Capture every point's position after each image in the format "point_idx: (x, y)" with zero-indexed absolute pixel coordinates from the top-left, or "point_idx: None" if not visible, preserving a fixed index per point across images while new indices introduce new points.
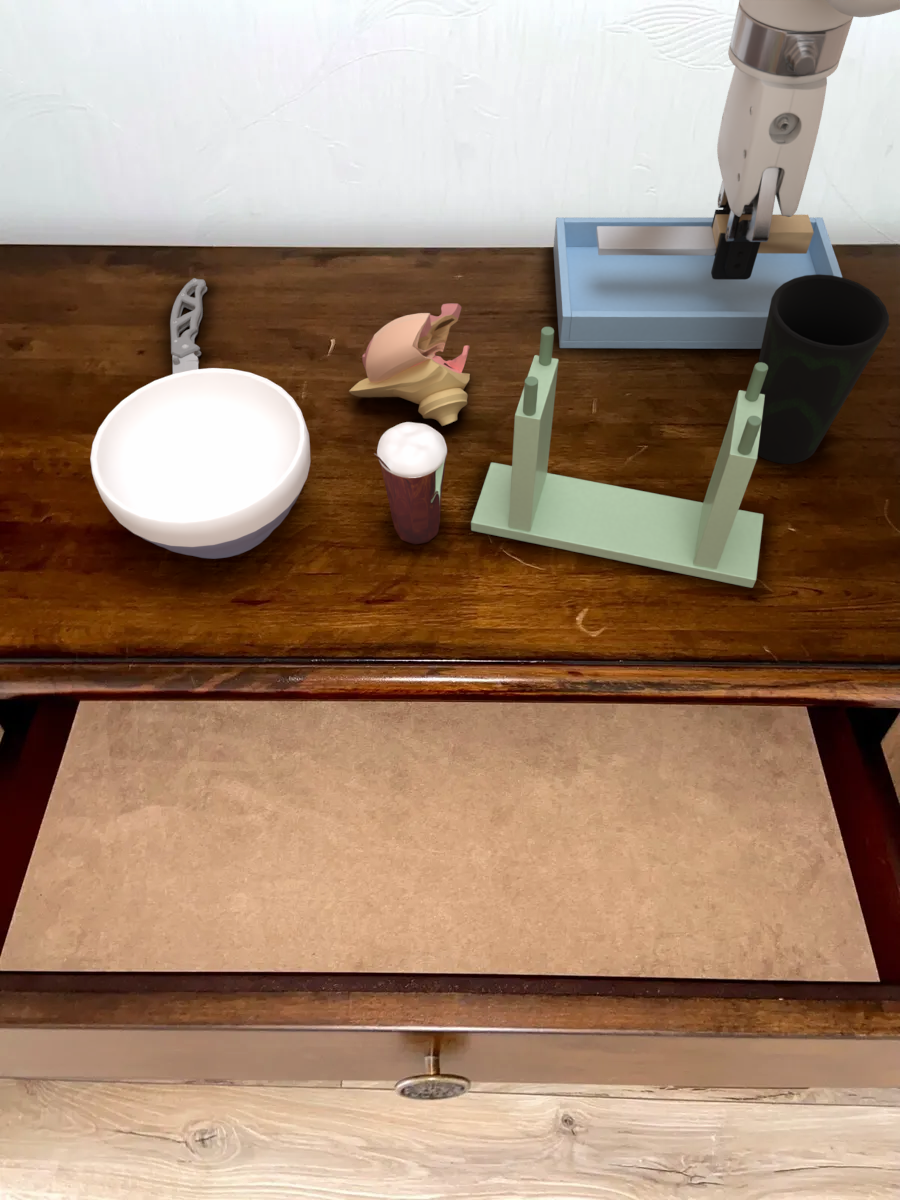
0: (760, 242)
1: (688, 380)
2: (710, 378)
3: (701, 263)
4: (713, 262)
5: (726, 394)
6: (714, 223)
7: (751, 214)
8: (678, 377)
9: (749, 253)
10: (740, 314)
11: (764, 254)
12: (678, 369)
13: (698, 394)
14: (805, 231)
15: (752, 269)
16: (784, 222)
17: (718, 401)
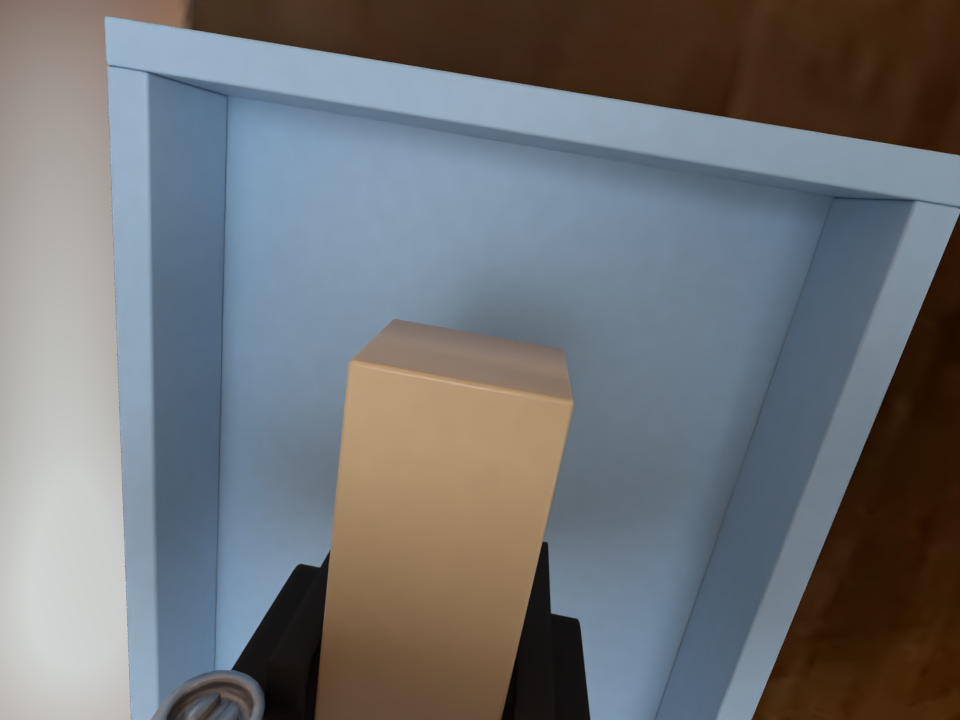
0: (551, 686)
1: (820, 696)
2: (835, 642)
3: (312, 533)
4: (308, 494)
5: (922, 624)
6: None
7: (306, 679)
8: (798, 715)
9: (589, 714)
10: (766, 647)
11: (273, 301)
12: (765, 705)
13: (889, 691)
14: (552, 456)
15: (547, 565)
16: (424, 550)
17: (942, 654)
